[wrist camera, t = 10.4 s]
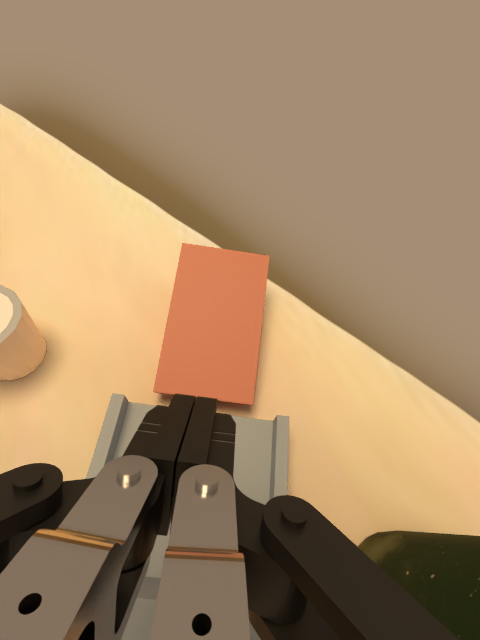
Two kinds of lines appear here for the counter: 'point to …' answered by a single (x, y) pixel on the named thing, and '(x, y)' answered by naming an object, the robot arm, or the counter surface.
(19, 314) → the tan cylinder
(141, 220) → the counter surface
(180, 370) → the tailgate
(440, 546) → the green water bottle
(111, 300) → the counter surface
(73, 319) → the counter surface
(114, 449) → the tray
